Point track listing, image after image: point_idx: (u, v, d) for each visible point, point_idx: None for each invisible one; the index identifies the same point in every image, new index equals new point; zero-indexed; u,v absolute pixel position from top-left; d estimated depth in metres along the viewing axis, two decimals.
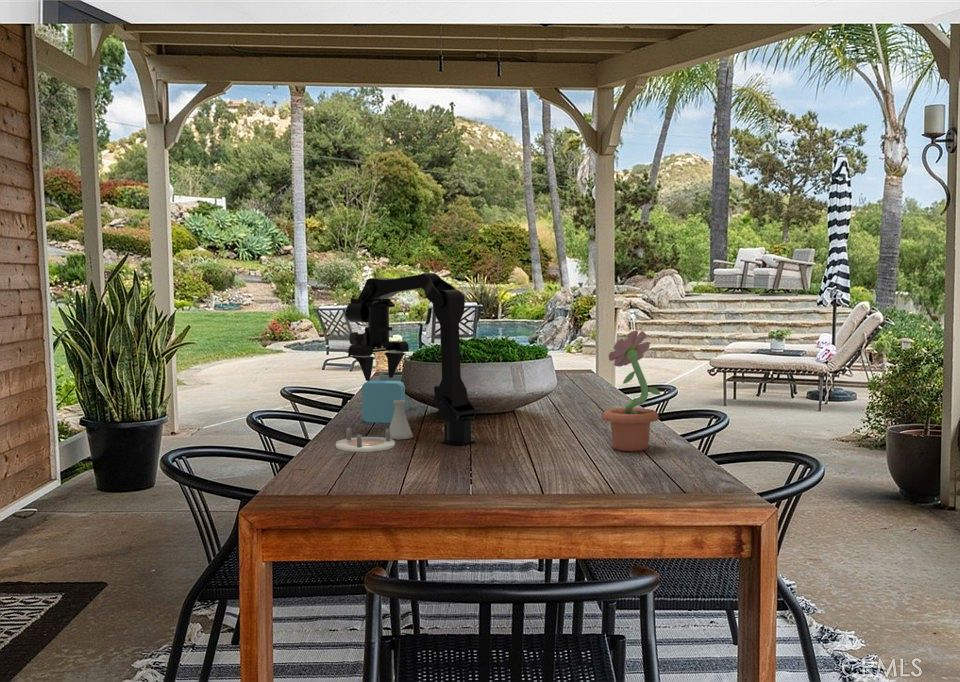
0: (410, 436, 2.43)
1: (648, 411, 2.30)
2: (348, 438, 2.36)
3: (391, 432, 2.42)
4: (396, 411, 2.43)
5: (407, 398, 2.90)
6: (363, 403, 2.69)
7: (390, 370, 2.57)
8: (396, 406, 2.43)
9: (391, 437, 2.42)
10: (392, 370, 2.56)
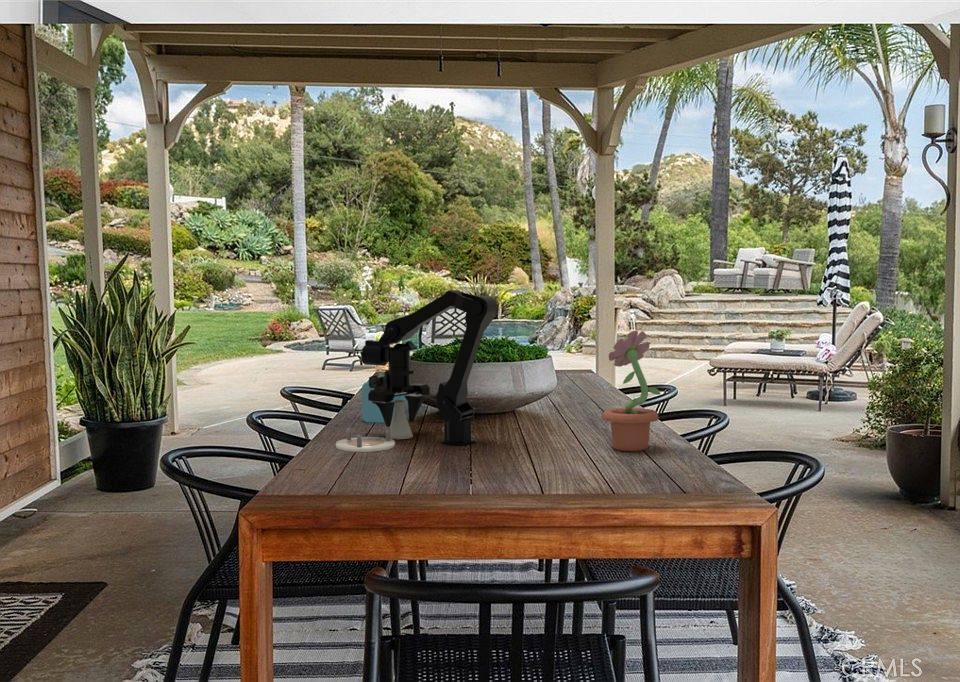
0: (410, 436, 2.43)
1: (648, 411, 2.30)
2: (348, 438, 2.36)
3: (391, 432, 2.42)
4: (396, 411, 2.43)
5: None
6: (363, 403, 2.69)
7: (411, 414, 2.48)
8: (396, 406, 2.43)
9: (391, 437, 2.42)
10: (413, 414, 2.48)
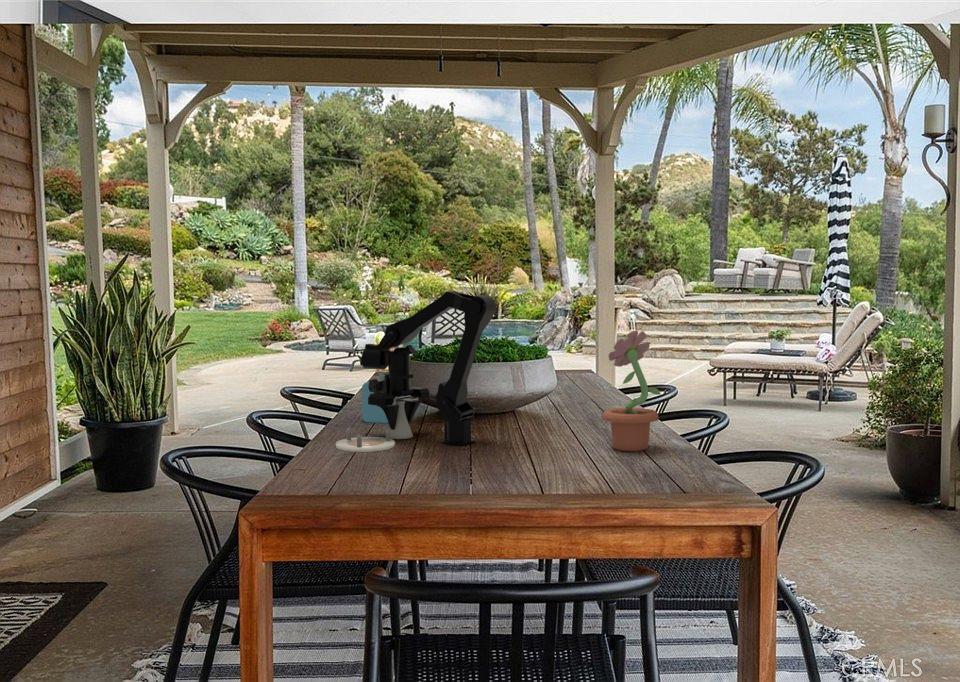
0: (410, 436, 2.43)
1: (648, 411, 2.30)
2: (348, 438, 2.36)
3: (391, 432, 2.42)
4: None
5: None
6: (363, 403, 2.69)
7: None
8: None
9: (391, 437, 2.42)
10: (408, 419, 2.46)
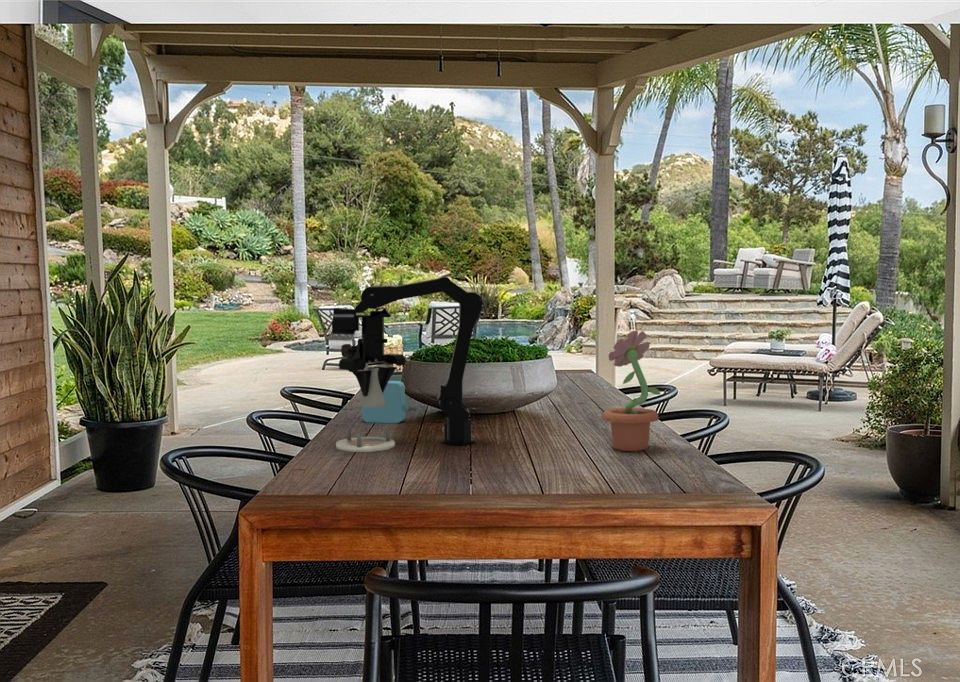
0: (383, 404, 2.34)
1: (648, 411, 2.30)
2: (348, 438, 2.36)
3: (363, 400, 2.33)
4: None
5: (407, 398, 2.90)
6: None
7: (380, 386, 2.37)
8: None
9: (363, 405, 2.33)
10: (382, 386, 2.37)
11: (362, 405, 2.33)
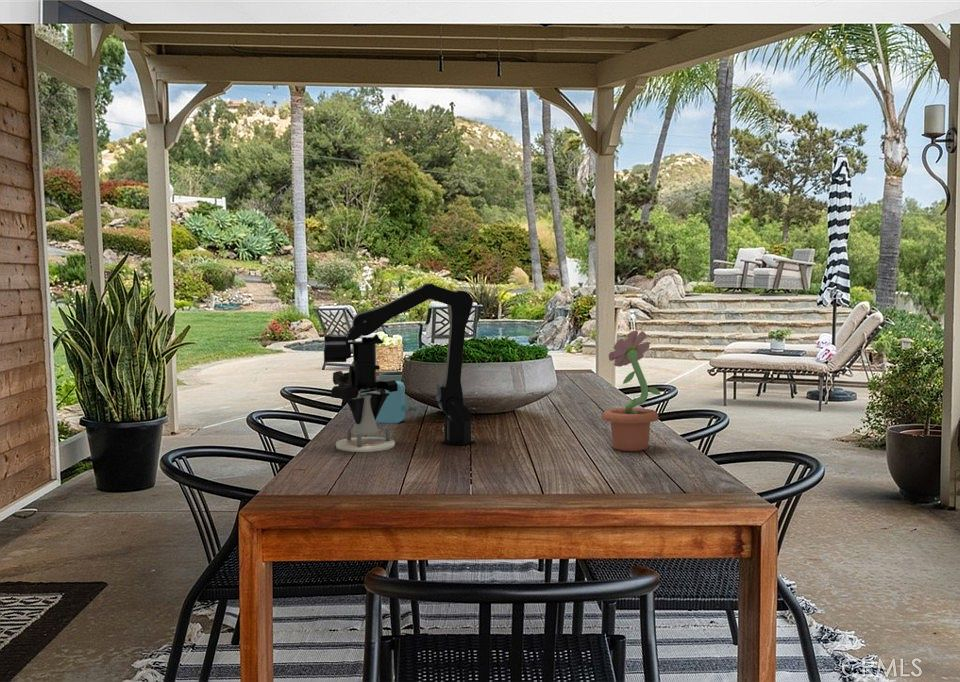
0: (376, 432, 2.32)
1: (648, 411, 2.30)
2: (348, 438, 2.36)
3: (356, 428, 2.31)
4: None
5: (407, 398, 2.90)
6: None
7: (372, 412, 2.35)
8: None
9: (356, 433, 2.30)
10: (375, 413, 2.34)
11: (355, 433, 2.30)
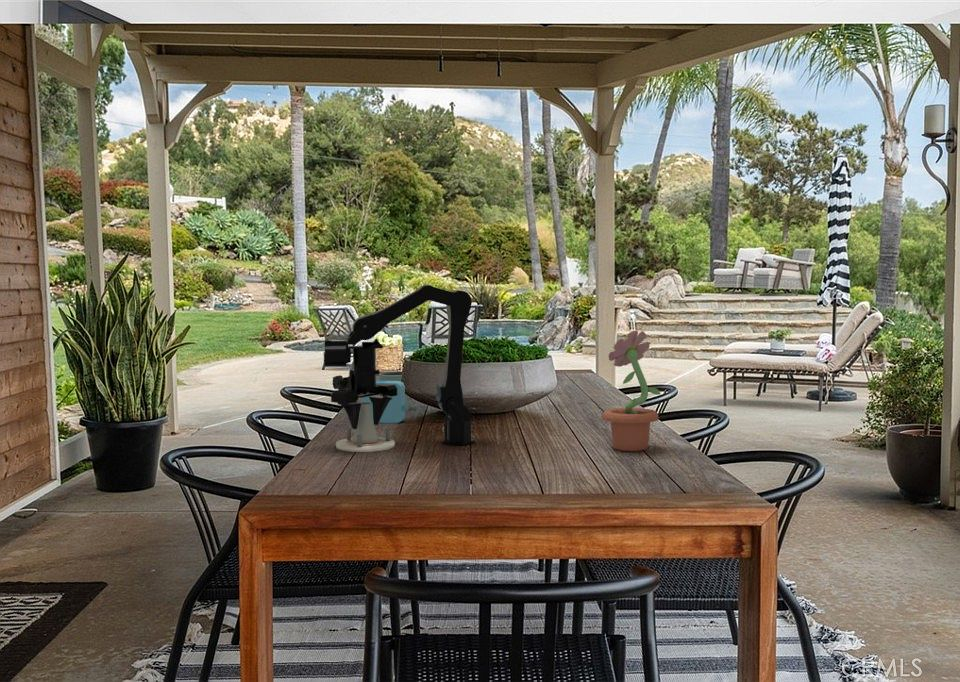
0: (376, 440, 2.32)
1: (648, 411, 2.30)
2: (348, 438, 2.36)
3: (356, 436, 2.31)
4: (361, 414, 2.32)
5: (407, 398, 2.90)
6: None
7: (375, 416, 2.36)
8: (361, 408, 2.32)
9: (356, 441, 2.30)
10: (377, 416, 2.35)
11: (355, 441, 2.31)
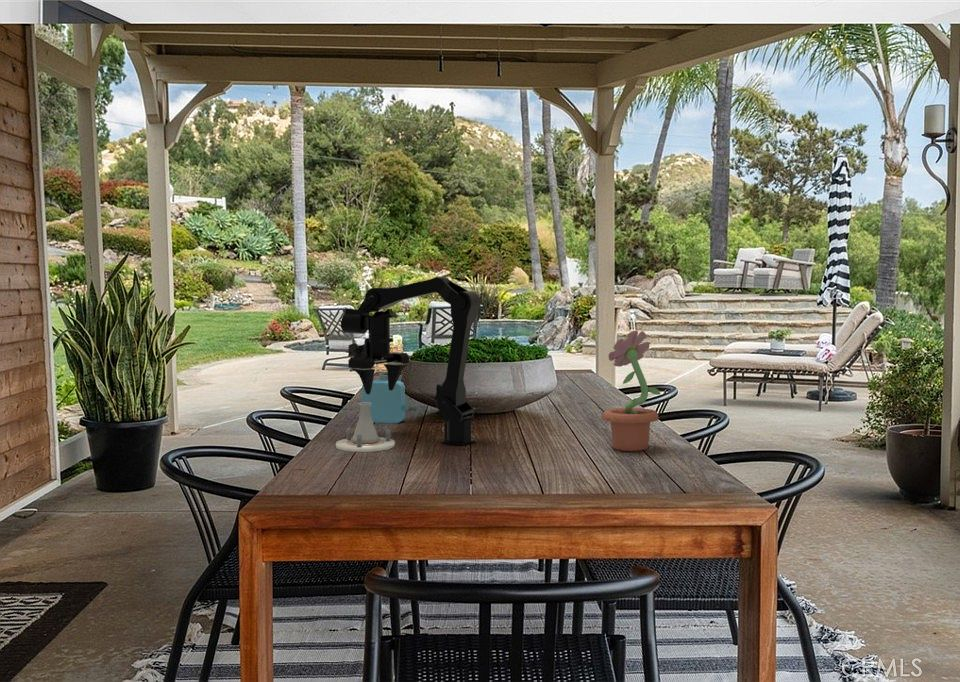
0: (376, 440, 2.32)
1: (648, 411, 2.30)
2: (348, 438, 2.36)
3: (356, 436, 2.31)
4: (361, 414, 2.32)
5: (407, 398, 2.90)
6: None
7: (390, 382, 2.49)
8: (361, 408, 2.32)
9: (356, 441, 2.30)
10: (392, 382, 2.48)
11: (355, 441, 2.31)
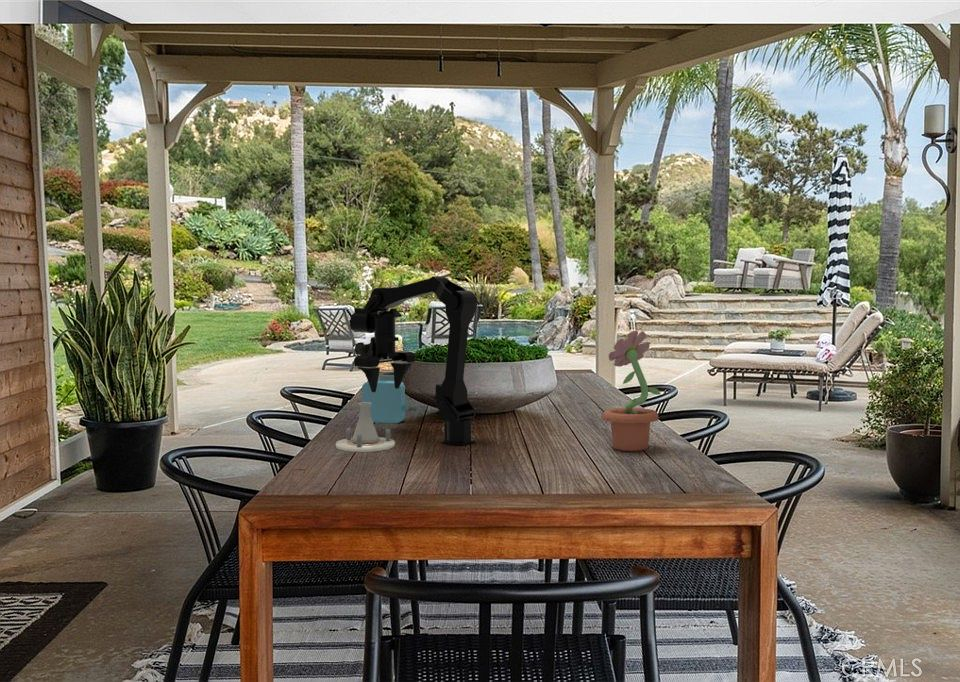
0: (376, 440, 2.32)
1: (648, 411, 2.30)
2: (348, 438, 2.36)
3: (356, 436, 2.31)
4: (361, 414, 2.32)
5: (407, 398, 2.90)
6: None
7: (396, 381, 2.53)
8: (361, 408, 2.32)
9: (356, 441, 2.30)
10: (398, 381, 2.53)
11: (355, 441, 2.31)
